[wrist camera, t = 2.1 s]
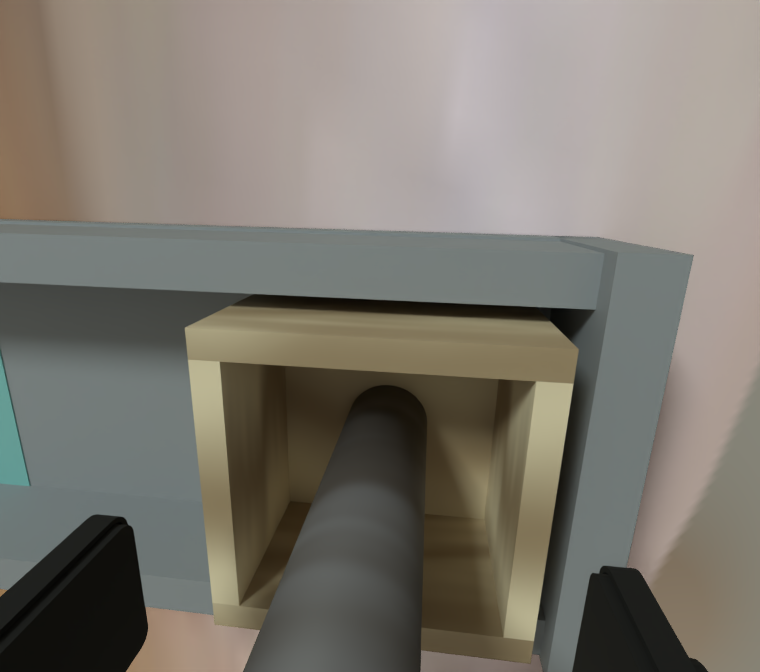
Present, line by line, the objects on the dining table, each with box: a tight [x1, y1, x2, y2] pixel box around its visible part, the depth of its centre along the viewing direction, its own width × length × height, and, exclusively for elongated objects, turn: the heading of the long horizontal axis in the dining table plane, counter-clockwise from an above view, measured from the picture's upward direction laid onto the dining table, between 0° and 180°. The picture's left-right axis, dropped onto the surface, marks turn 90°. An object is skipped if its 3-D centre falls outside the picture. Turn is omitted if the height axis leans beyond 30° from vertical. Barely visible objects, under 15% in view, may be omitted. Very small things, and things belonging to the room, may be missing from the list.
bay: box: [0, 219, 694, 672], centre depth 16 cm, size 13×26×6 cm, turn 88°
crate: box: [185, 294, 579, 672], centre depth 11 cm, size 9×9×12 cm
